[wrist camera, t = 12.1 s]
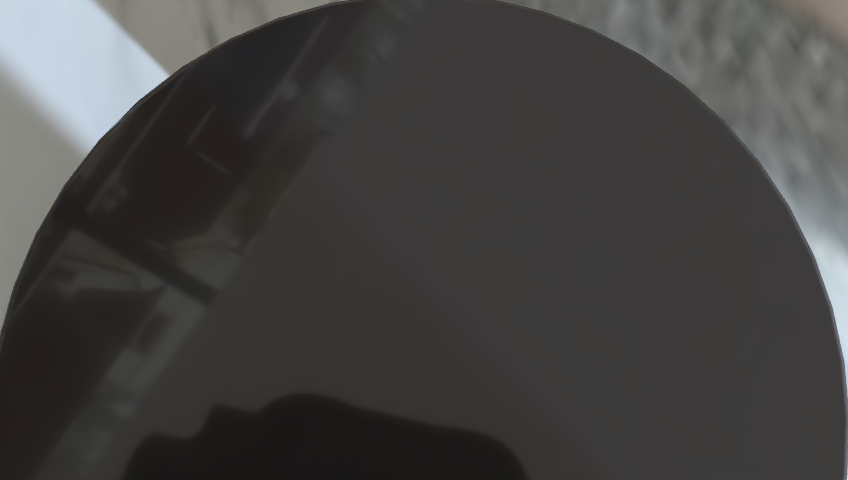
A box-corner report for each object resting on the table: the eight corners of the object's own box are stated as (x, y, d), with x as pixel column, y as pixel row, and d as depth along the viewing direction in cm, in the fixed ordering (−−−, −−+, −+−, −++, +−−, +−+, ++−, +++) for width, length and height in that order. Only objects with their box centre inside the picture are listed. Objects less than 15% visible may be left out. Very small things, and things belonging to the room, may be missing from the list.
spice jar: (450, 488, 17) (580, 1061, 4) (249, 363, 17) (-197, 563, 5) (569, 286, 18) (998, 266, 5) (373, 166, 18) (292, -160, 5)
